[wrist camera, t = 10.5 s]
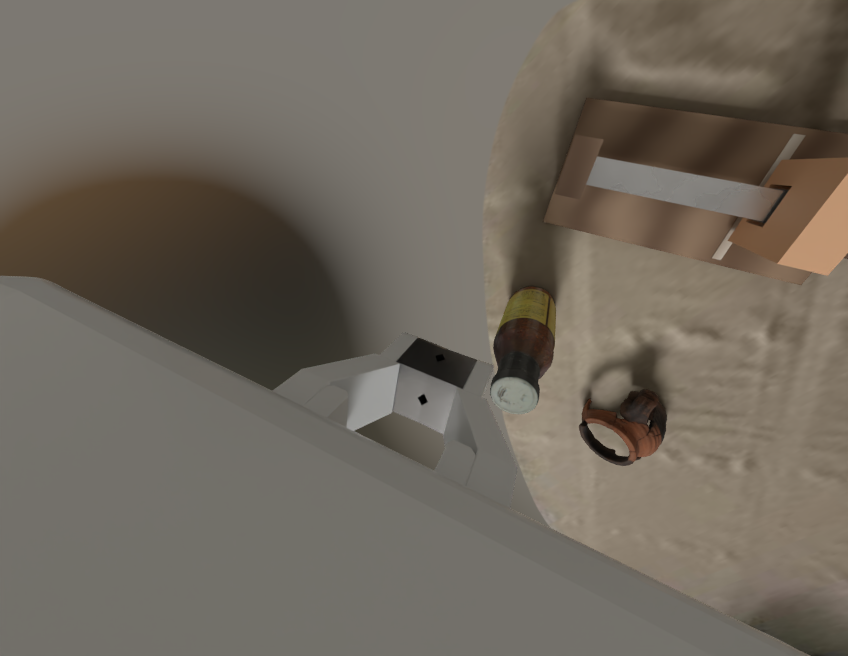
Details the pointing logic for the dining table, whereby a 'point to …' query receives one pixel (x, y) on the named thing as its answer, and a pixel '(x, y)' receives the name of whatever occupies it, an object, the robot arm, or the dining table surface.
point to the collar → (803, 217)
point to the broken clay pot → (628, 426)
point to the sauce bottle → (523, 349)
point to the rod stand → (680, 180)
